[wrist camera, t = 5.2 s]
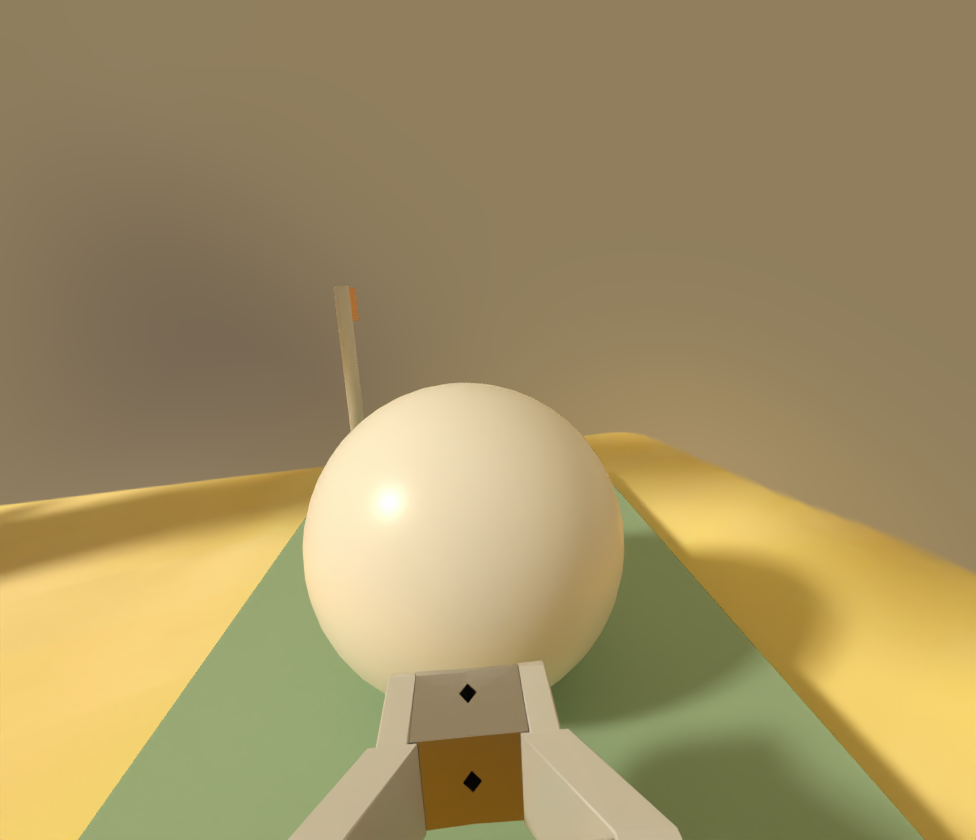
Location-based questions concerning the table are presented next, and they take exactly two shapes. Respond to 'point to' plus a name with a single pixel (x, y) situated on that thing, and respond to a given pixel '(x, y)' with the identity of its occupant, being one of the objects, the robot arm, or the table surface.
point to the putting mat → (577, 696)
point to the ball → (462, 537)
